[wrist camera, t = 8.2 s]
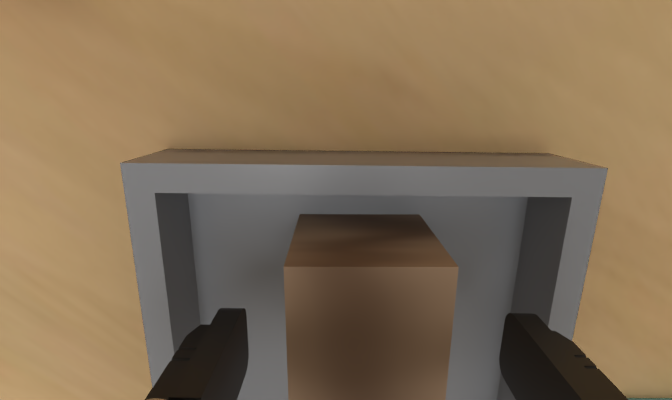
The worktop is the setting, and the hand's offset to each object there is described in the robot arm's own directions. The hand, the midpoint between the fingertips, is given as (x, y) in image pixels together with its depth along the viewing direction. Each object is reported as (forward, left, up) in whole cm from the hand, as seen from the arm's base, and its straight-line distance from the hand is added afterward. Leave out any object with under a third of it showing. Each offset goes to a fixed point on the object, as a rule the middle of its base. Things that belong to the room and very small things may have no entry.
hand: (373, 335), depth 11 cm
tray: (0, +4, -6) cm, 7 cm away
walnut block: (0, 0, -5) cm, 5 cm away
